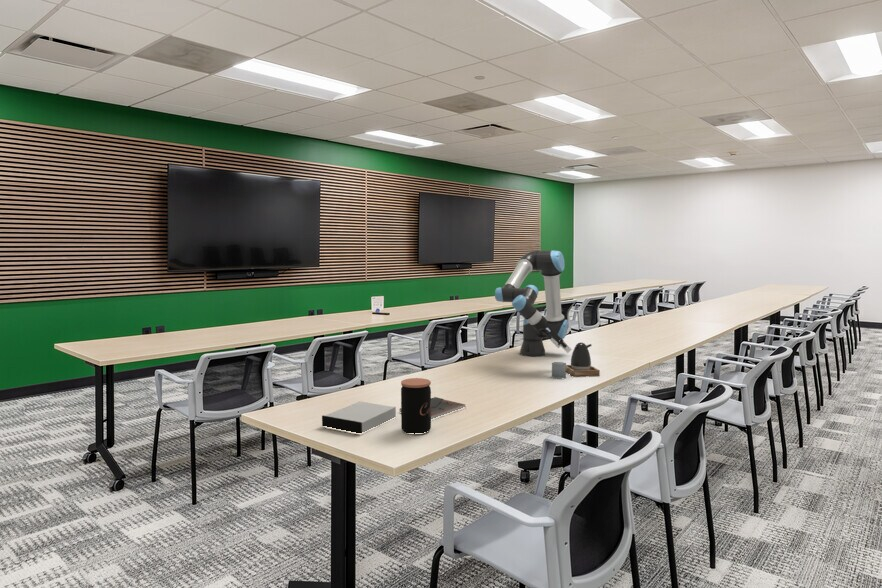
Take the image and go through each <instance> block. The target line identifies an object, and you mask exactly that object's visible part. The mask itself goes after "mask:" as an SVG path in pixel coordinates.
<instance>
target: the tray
mask: <svg viewBox="0 0 882 588" xmlns="http://www.w3.org/2000/svg"><path fill="white" fill-rule="evenodd" d="M600 372H601V371H600V369H598V368H596V367H594V365H593V366H592V365H591V366H590V369H589V370H580V371H574V370H573V369H572V366H571V364H566V374H567V373H568V375H569V374H570V376H571V377H572V376H573V377H572V378H584V377H586V376H589V377H600V375H601V373H600Z"/></svg>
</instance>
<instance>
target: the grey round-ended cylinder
mask: <svg viewBox="0 0 882 588" xmlns="http://www.w3.org/2000/svg"><path fill="white" fill-rule="evenodd" d="M566 365H567V363H566V362H564V361H563V362H562V361H554V362H551V378H552V377H553V378H552V379H556V378H557V379H559V380H562V378H564V379H566V378H567V373H566Z"/></svg>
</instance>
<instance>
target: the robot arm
mask: <svg viewBox="0 0 882 588" xmlns="http://www.w3.org/2000/svg"><path fill="white" fill-rule="evenodd" d="M564 257H565V256H564V255H563V252H561V251H559V250H553V249H552V250H531V251H529V252H527V253H525V254H524V255H522V256H521V257H520V258H519V259H518V260H517V262H516V263H515V268H514V269H513V272H512V273H511V274H510V276H509V278H508V279H507V280H506V282H505V284H504V285H503V287H501V286H500V287H496V289H495V290H494V291H495V292H494V299H495V300H496V301H497V302H500V303H501V302H502V303H511V306H512V307H513V308H514V310H515V311H516V312H518V313H519V314H520V315H521V316H522V317H523V324H522V329H523V330H522V332H523V333H522V344H521V347H520V350H519V354H520V355H521V354H522V356H525V355H526V356H525V357H543V356H546V350H545V346H544V343H543V339H549V341H551V342H552V344H554V346H555V347H556V348H558V349H559V348H562V349H563V350H564V352H565V353H566V354H569V353H570V352H571V351H572V348H571V347H570V346H569V345H568V344H567V343H566V341H564V339H565V338H566V336H567V333H568V330H569V321H568V319H565V315H564V314H563V313H562V300H561V298H562V297H561V287H560V286H561V284H560V283H561V282H560V276H561V275H562V272H563V271H564V270H565V264H566V263H565V258H564ZM533 271H534V272H535V271H539V272H540V274H541V276H542V277H543V282H544V283H543V284H544V293H545V294H544V295H545V306H546V315H545V316H544V315H542V313H541V312H540V311H539V310H538V309H537V308H536V307H534V304H535V302H536V300H537V298H538V295H539V288H538V287H537V286H536V285H533V284H528V285H526V286H525V287H524V288H522V287H521V286H522V284H523V282H524V280H525V279H526V277H528V275H529V274H531V273H532V272H533Z"/></svg>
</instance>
